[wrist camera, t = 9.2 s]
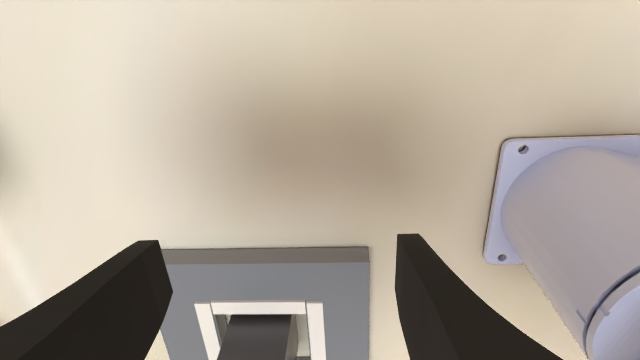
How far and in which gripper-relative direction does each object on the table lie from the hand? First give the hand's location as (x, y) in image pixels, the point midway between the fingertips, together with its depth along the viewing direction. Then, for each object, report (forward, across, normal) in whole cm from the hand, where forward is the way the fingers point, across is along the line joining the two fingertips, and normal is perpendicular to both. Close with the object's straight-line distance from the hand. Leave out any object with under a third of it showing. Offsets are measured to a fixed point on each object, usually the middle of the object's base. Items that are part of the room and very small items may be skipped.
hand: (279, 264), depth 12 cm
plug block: (+10, +4, +14) cm, 18 cm away
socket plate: (+10, +4, +14) cm, 18 cm away
